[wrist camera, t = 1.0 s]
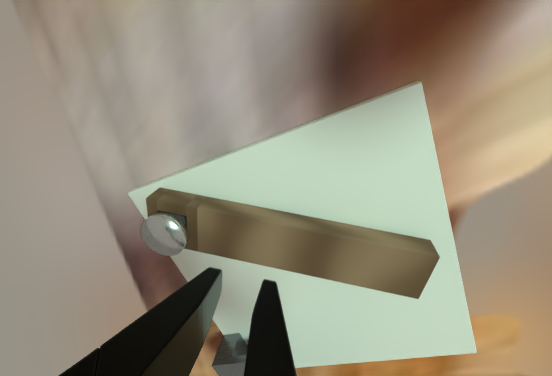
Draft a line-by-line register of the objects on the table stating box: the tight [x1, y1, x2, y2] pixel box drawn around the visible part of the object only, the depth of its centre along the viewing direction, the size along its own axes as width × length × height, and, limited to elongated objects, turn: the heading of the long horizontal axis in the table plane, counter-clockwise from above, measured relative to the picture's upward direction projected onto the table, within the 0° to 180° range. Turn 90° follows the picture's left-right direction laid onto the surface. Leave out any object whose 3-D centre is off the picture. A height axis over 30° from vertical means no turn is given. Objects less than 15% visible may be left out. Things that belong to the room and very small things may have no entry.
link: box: [146, 187, 440, 299], centre depth 20 cm, size 20×4×2 cm, turn 83°
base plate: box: [128, 81, 477, 368], centre depth 21 cm, size 23×22×4 cm
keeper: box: [212, 333, 248, 376], centre depth 26 cm, size 4×6×3 cm, turn 113°
